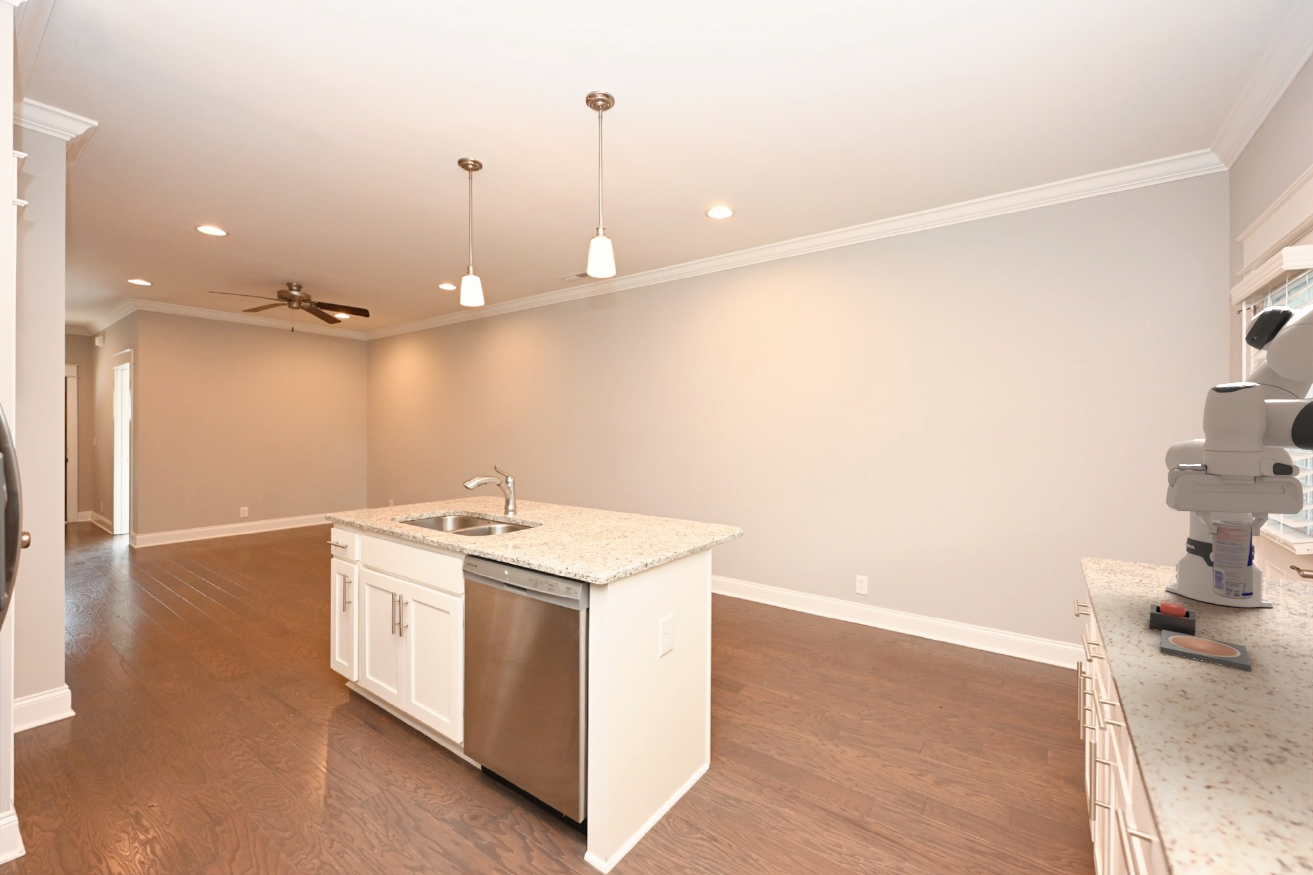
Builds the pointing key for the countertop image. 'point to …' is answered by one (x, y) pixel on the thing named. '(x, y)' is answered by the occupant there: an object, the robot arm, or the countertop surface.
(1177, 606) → the button
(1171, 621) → the button housing
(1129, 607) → the countertop surface
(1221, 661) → the picture board
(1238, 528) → the beverage can
